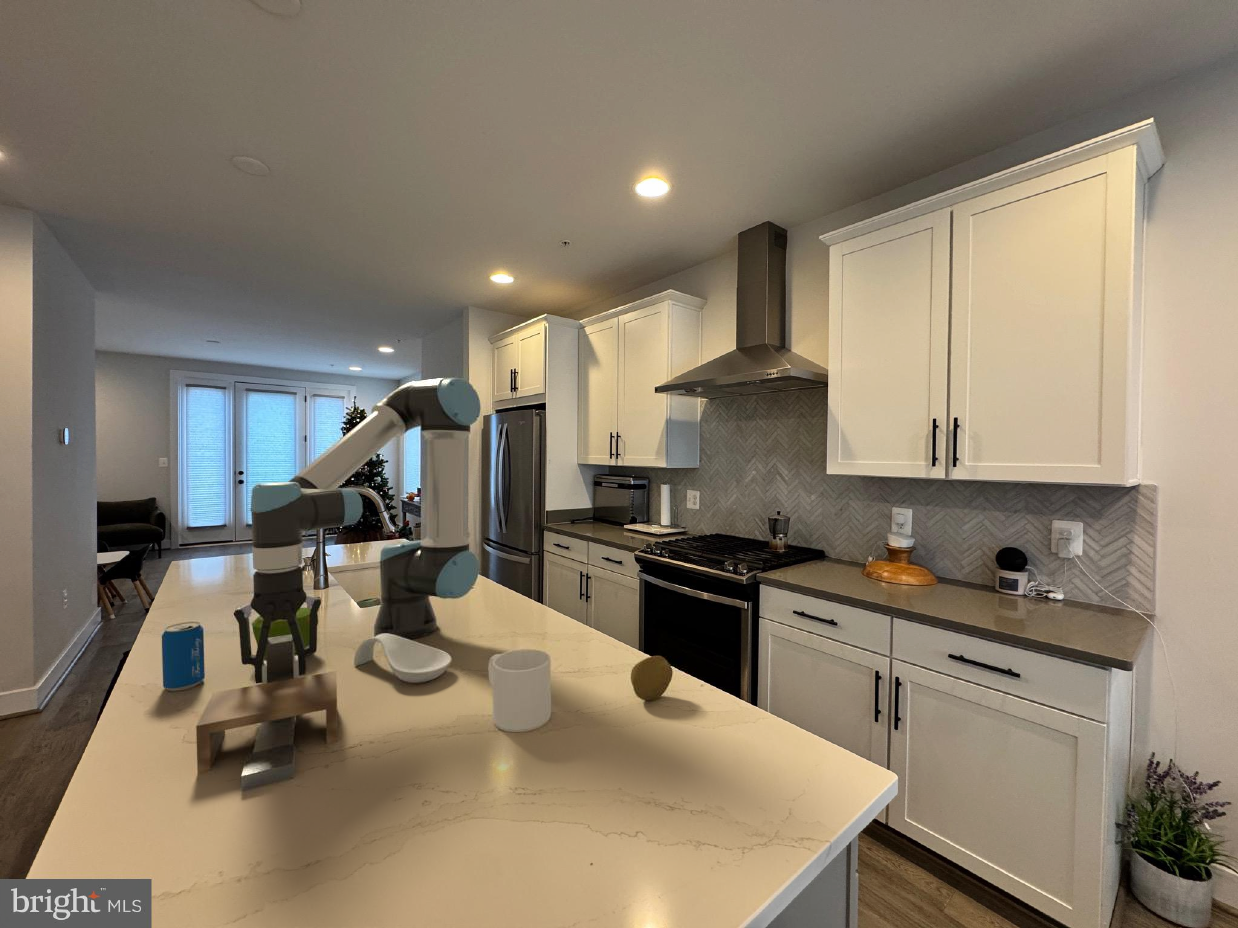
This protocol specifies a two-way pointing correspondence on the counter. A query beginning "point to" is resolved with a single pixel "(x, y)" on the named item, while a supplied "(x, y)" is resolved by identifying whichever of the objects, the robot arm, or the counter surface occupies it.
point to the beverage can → (183, 656)
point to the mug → (521, 689)
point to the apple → (285, 627)
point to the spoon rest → (406, 657)
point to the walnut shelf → (264, 709)
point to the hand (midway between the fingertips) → (281, 695)
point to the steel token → (268, 767)
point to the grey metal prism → (277, 670)
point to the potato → (651, 677)
